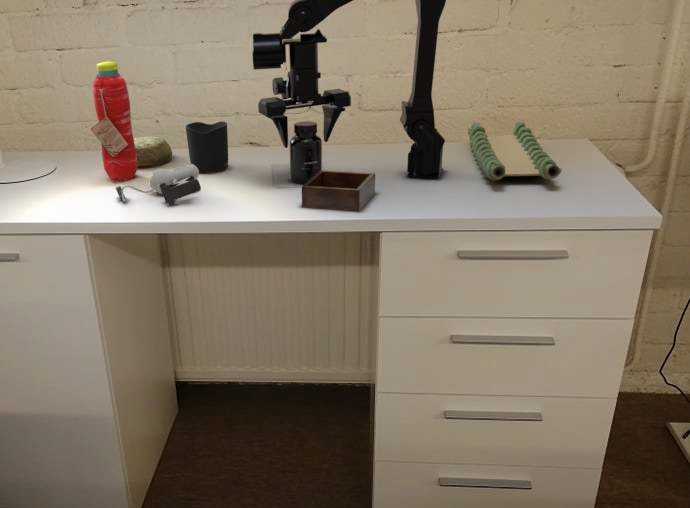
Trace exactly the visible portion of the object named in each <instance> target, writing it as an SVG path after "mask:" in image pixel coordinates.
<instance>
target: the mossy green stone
mask: <svg viewBox="0 0 690 508" xmlns="http://www.w3.org/2000/svg"><path fill="white" fill-rule="evenodd" d="M133 139H134V144H135V149H136V154H137V163H138V166H137V167H143V166H157V165H161V164H164V163H167V162H169V161H170V160H171V159H172V157H173V150H172V147H171V146H170V143H168V141H167V140H166V139H165V138H163V137H160V136H141V137H135V138H134V137H133Z"/></svg>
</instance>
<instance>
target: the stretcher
mask: <svg viewBox="0 0 690 508" xmlns="http://www.w3.org/2000/svg"><path fill="white" fill-rule="evenodd" d="M467 134H468V135H469V141H470V147H471V148H472V151H473V155H474V156H475V159H476V160H477V164H478V165H479V167H480V169H481V171H482V172H483V173H484V176H486V177H487V179H489V180H491V181H493V182H495V181H500V180H501V179H503V178H504V177H535V176H537V177H540V178H543V179H544V180H549V181H550V180H553V179H556V178H558V177H559V175H561V173H562V171H563V169H562V168H561V167H559V166H558V165H557V163H556V161H555V160H554V159H552V158H551V157H550V156H549V154H547V151H544V150H543V147H542V146H541V144H540V142H538V140H537V138H536V136H535V135H534V133H533V132H532V129H531V128H529V127H527V126H526V123H525V121H523V120H519V121H517V122H516V123H515V125H514V129H513V134H512V135H510V134H509V135H507V134H506V135H488V134H487V133H486V129H485V128H484V127H483V126H482V124H481V122H479V121H474V122H473V123H471V126H470V127H469V128H467Z"/></svg>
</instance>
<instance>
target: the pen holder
mask: <svg viewBox="0 0 690 508" xmlns="http://www.w3.org/2000/svg"><path fill="white" fill-rule="evenodd" d="M185 133H186V134H185V135H186V141H187V148H188V156H189V162H190V164H193V165H195V166H196V167H197V168H198V171H199V174H216V173H220V172H224V171H226V170H227V169H228V168H229V136H228V123H227V122H226V121H222V120H221V121H217V122H215V123H205V122H201V121H194V122H190V123H187V124H186V125H185Z"/></svg>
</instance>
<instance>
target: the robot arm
mask: <svg viewBox="0 0 690 508" xmlns="http://www.w3.org/2000/svg"><path fill="white" fill-rule="evenodd" d="M353 1H354V0H294V1H292V2H291V4H290V5H289V8H288V10H287V20H286V22H285V23H284V25H283V26H281V29H280V31H279V32H271V33H270V32H269V33H262V32H254V33H253V34H252V53H251V54H252V66H253V70H254V71H255V70H256V71H257V70H274V69H276V70H277V69H281V68H282V65H284V64H285V63H287V47H286V46H288V53H289V54H288V56H289V57H288V58H289V71H287V76H286V77H287V78H286V80H284V78H283V76H279V77H274V78H273V79H272V81H271V82H272V86H271V87H272V93H273V95H274V96H272V97H264V98H260V100H259V101H258V105H257V108H258V113H259V114H261V115H263V116H264V117H266V118H267V119H270V120H271V121H272V122H273V124H274V126H275V127H276V129H277V132H278V135H279V138H280V141H281V142H282V145H283V147H284V148H285V149H288V147H289V127H288V125H289V123H288V120H289V119H288V116H287V115H285V113H286V112H287V111H288V110H294V109H302V108H309V107H316V106H317V107H318V106H321V108H322V109H321V110H322V112H323V130H322V131H323V132H322V135H323V136H322V137H323V142H325V143H328V141H329V140H330V137H331V134H332V132H333V130H334V128H335V125H336V123H337V121H338V120H339V117H340V116H341V114H342V112H346V108H347V107H351V106H352V96H351V94H350V93H349V92H348V91H347V90H343V89H341V88H333V89H326V90H324V91H323V93H322V94H321V93H320V92H319V79H321V78H322V76H321V74H322V73H321V72H320V71H319V50H318V49H319V45H318V44H325V43H327V42H328V38H327V36H326V35H324V34H323V33H322V32H321V29H320V28H317V29H316V30H315V31H314V32H313V33H307V32H310V31H311V30H313V29H314V28H315V27H317V26H318V25H319V24H321V23H322V22H323V21H324V20H325V19H327V18H328V17H329V16H330V15H331V14H333V13H334V12H335V11H336V10H338V9H340V8H341V7H343V6H345V5H347V4H349V3H352V2H353ZM414 1H415V2H414V3H415V8H416V15H417V26H416V38H415V50H414V61H413V71H412V83H411V91H410V95H409V98H408V100H401V114H400V117H399V122H400V123H401V125H402V127H403V130H404V131H405V133H406V134H407V136H408V138H409V139H410V140H412V141H413V143H412V145H411V146H410V150H409V151H408V153H407V165H406V166H407V168H406V172H407V177H408V178H418V179H419V178H420V179H421V178H422V179H439V178H440V176H441V175H442V173H443V172H444V168H443V167H442V166H443V153H444V144H445V142H446V139H445V138H444V137H443V135H442V134H441V132H440V131H439V130H438V129H437V127H436V125H435V123H436V121H435V111H434V109H435V108H434V102H433V95H432V94H433V84H434V83H433V82H434V74H435V65H436V64H435V63H436V54H437V44H438V33H439V24H440V19H441V17H442V14H443V11H444V9H445V6H446V3H447V0H414ZM299 33H300V34H299ZM298 34H299V38H295V39H293V38H294V37H295V36H296V35H298ZM278 95H281V98H280V97H278Z"/></svg>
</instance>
